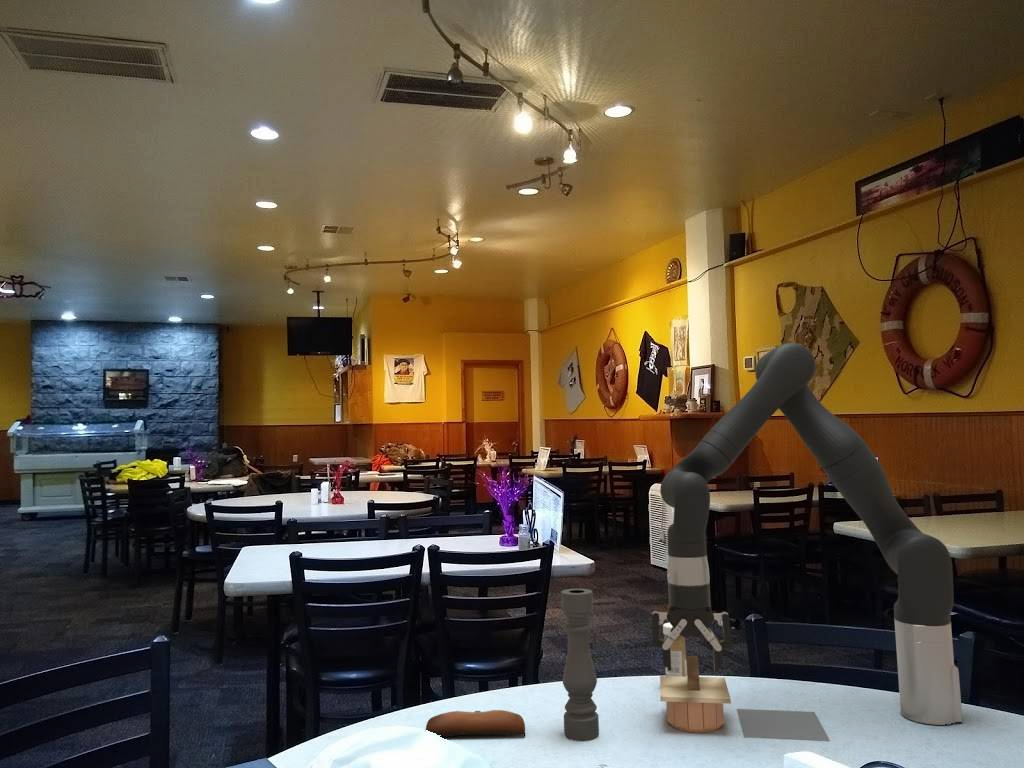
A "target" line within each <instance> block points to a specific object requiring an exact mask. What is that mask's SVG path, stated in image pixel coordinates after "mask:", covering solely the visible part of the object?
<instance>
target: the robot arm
mask: <svg viewBox="0 0 1024 768" xmlns="http://www.w3.org/2000/svg"><path fill="white" fill-rule="evenodd" d="M816 364H817V363H816V359H815V357H814V355H813V353H812V352H811V350H810V349H809V348H807V347H806V346H804V345H802V344H800V343H796V342H789V343H788V342H787V343H783V344H781V345H778V346H776V347H775V348H773V349H771V350H770V351H767V352H766V353H765V354H764V355H762V356H761V357H760V358H759V359H758V361H757V362H756V365H755V368H754V369H755V370H754V372H755V378H756V382H754V385H752V386H751V388H750V389H749V390H748V391H747V392H746V394H745V395H744V396H743V397H742V398H741V399H740V400H739V401H738V402H737V403H736V404H735V405H734V406H732V407H731V408H730V409H729V410H728V411H727V412H726V413H725V414H724V415H723V416H722V417H721V418H719V420H718V421H717V422H716V423H715V424H714V425H713V426H712V428H711V429H710V430H709V431H708V432H707V433H706V434H705V436H704V437H702V439H701V440H700V442H699V443H698V444H697V446H696V447H695V448H694V449H693V450H692V451H691V452H689V454H687V455H686V456H684V457H683V459H681V460H680V461H679V462H677V464H676V465H674V466H673V467H672V468H671V469H670V470H669V471H668V473H666V475H665V476H664V478H663V480H661V484H660V491H659V492H660V495H661V498H662V501H664V503H665V504H666V505H668V506H669V507H672V508H673V509H674V510H673V523H671V524H670V525H669V526H668V529H667V537H666V539H667V540H666V541H667V565H666V566H667V570H666V571H667V576H666V579H667V590H668V592H667V593H668V610H667V612H663V611H660V612H659V611H658V610H653V612H652V622H651V625H652V626H651V627H652V628H651V631H652V633H651V637H652V638H651V639H652V641H651V643H652V646H654V647H658V648H661V651H662V661H663V662H662V664H663V667H664V668H665V667H667V670H668V671H671V651H670V646H671V644H672V643H673V642H674V641H675V639H676V638H677V637H678V635H680V636H683V637H685V638H689V637H694V638H700V637H703V636H704V638H705V639H706V640H707V641H708V642H709V643H710V645H711V646H712V648H713V649H712V651H713V670H714V673H719V672H720V671H719V669H720V670H721V669H722V668H723V654H722V653H723V650H725V649H730V648H731V647H732V645H733V644H732V643H733V641H732V634H731V623H730V617H729V613H728V612H727V611H721V612H719V613H715V612H713V611H712V603H711V587H710V584H711V583H710V580H711V578H710V577H711V576H710V568H709V562H708V552H707V537H706V530H707V525H708V520H709V514H710V507H711V493H710V488H709V487H710V486H709V484H708V482H709V481H711V480H712V479H713V478H715V477H718V476H721V475H723V474H724V473H725V472H726V471H727V470H728V469H729V468H730V467H731V465H732V464H733V463H734V462H735V461H736V459H737V458H738V457H739V456H740V454H741V453H743V451H744V449H745V448H746V447H747V446H748V445H749V443H750V442H751V440H753V438H754V437H755V436H756V435H757V433H758V432H759V431H760V430H761V429H762V427H763V426H764V425H765V424H766V423H767V421H768V420H769V419H770V418H771V417H772V416H773V415H774V414H775V413H776V412H777V411H778V410H779V411H780V412H781V413H782V414H783V415H784V416H785V418H786V419H787V420H788V422H789V423H790V424H791V425H792V426H793V428H794V429H795V431H796V433H797V434H798V436H799V437H800V438H801V440H802V441H803V443H804V444H805V445H806V447H807V448H808V450H809V451H810V453H811V454H812V455H813V457H814V458H815V460H816V461H817V463H818V464H819V467H821V469H822V471H823V472H824V473H825V475H826V476H827V478H828V479H829V480H830V482H831V483H832V484H833V486H834V488H836V490H837V491H838V492H839V494H840V495H841V496H842V498H843V499H844V500H845V501H846V503H847V504H848V505H849V506H850V507H851V508H852V510H853V511H854V512H855V513H856V514H857V516H858V517H859V518H860V519H861V520H862V522H863V523H864V525H865V527H866V528H867V529H868V531H869V533H870V534H871V536H872V538H873V540H874V542H875V544H876V545H877V547H878V548H879V550H880V552H881V555H882V556H883V558H884V559H885V561H886V563H887V565H888V567H890V569H891V570H892V571H893V572H894V573H895V574H896V575H897V584H898V585H897V587H898V591H897V592H898V597H897V600H896V601H895V602H894V604H893V618H894V631H895V633H894V634H895V646H896V661H897V663H896V664H897V674H898V675H897V676H898V679H897V680H898V690H899V691H898V693H899V706H900V714H901V715H902V716H903V717H904V718H906V719H909V720H911V721H914V722H917V723H921V724H925V725H926V724H927V725H935V726H936V725H937V726H944V725H945V724H947V725H952V724H951V723H953V724H956V723H955V722H962V723H963V713H962V701H961V700H962V697H961V684H960V672H959V668H958V667H957V666H956V664H955V662H954V661H955V659H954V658H955V657H954V646H953V635H952V621H951V619H952V616H951V615H952V611H953V608H954V575H953V574H954V573H953V572H954V571H953V562H952V556H951V554H950V552H949V550H948V548H947V546H946V545H945V543H943V542H942V541H941V540H940V539H938V538H936V537H935V536H932V535H929V534H926V533H924V532H923V531H921V530H920V528H918V527H917V526H916V524H915V523H914V521H912V519H910V517H909V516H908V515H907V514H906V513H905V511H904V510H903V508H902V507H901V505H900V504H899V503H898V501H897V499H896V498H895V496H894V493H893V490H892V488H891V485H890V483H889V480H888V478H887V475H886V473H885V470H884V469H883V467H882V465H881V463H880V462H879V460H878V459H877V457H876V455H875V454H874V453H873V452H872V450H871V449H870V448H869V446H868V444H867V443H866V442H865V440H864V439H863V438H862V436H860V435H859V434H858V433H857V431H856V430H854V429H853V428H852V427H851V426H850V425H848V424H847V422H844V421H843V420H841V419H840V418H839V417H838V416H836V415H835V414H834V413H833V412H831V411H830V410H828V408H826V407H825V406H824V405H823V404H822V403H821V401H820V400H819V399H818V398H817V397H816V395H815V394H814V392H813V390H812V389H811V387H810V386H809V385H808V384H810V382H811V380H812V379H813V378H814V375H815V373H816V372H815V371H816V367H817V366H816ZM665 620H667V621H668V623H670V624H671V625H672V626H673V627H672V628H671V630H670V631H669V633H668V635H667V636H666V638H665V639H664V638H663V639H662V638H660V625H664V621H665ZM714 621H717V625H719V626H720V627H722V636H723V639H720V640H719V639H718V638H717V637H716V635H715V634H714V632H713V631H712V630H711V628H710V627H711V625H712V624H713V622H714ZM945 726H946V725H945Z"/></svg>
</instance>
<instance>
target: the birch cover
mask: <svg viewBox="0 0 1024 768" xmlns="http://www.w3.org/2000/svg"><path fill="white" fill-rule="evenodd" d="M698 657H699V656H698V655H686V664H687V677H682V676H666V675H660V676H659V689H660V691H659V692H660V693H659V696H660V697H659V698H660V699H659V700H660V702H696V703H723V704H727V705H729V704H732V701H731V700H732V699H731V695H730V692H729V688H728V684H727V682H726V677H718V676H717V677H716V676H715V677H711V676H700V671H699V669H700V667H699V666H700V665H699V658H698Z"/></svg>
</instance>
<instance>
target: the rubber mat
mask: <svg viewBox="0 0 1024 768" xmlns="http://www.w3.org/2000/svg"><path fill="white" fill-rule="evenodd" d="M736 712H737V715H738V718H739V719H738V720H739V723H740V727H741V731H742V733H743V738H747V739H748V738H751V739H766V740H767V739H772V740H791V741H793V740H794V741H811V742H812V741H813V742H814V741H815V742H831V740H830V738H829V736H828V734H827V733H826V731H825V729H824V727H823V725H822V723H821V721H820V719H819V718H818V716H817V714H816V712H815V711H803V710H802V711H800V710H799V711H798V710H777V709H776V710H774V709H771V710H770V709H754V708H753V709H752V708H751V709H748V708H736Z"/></svg>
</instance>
